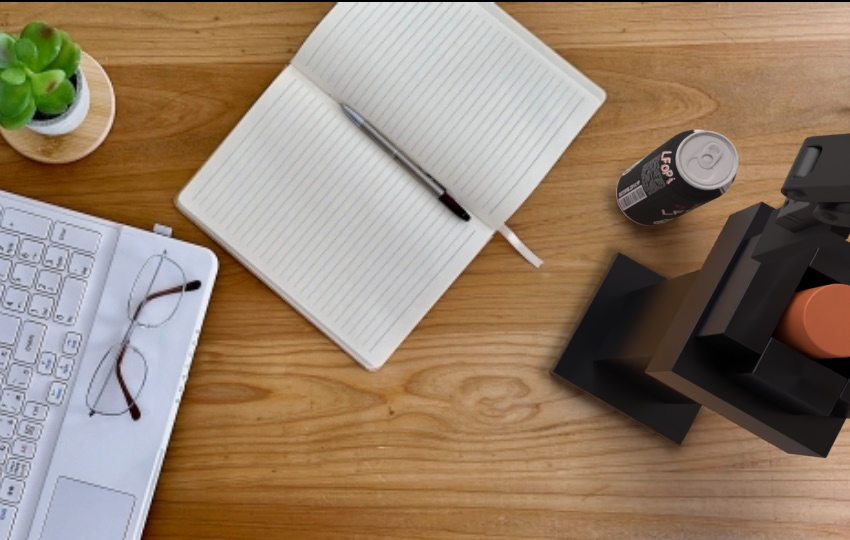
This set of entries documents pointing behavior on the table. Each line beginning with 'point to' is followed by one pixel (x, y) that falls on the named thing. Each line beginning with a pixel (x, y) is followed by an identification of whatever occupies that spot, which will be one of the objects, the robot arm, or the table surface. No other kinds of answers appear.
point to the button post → (712, 343)
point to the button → (817, 322)
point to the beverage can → (677, 177)
